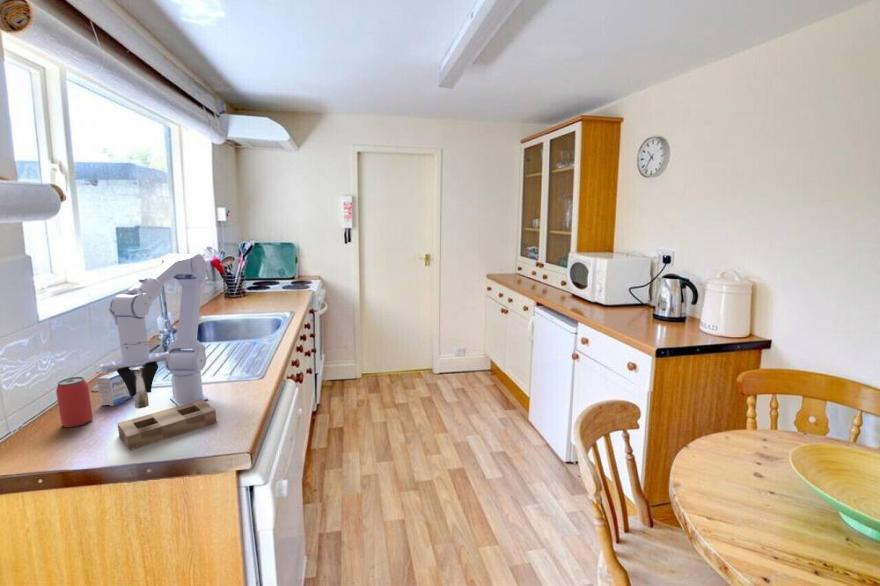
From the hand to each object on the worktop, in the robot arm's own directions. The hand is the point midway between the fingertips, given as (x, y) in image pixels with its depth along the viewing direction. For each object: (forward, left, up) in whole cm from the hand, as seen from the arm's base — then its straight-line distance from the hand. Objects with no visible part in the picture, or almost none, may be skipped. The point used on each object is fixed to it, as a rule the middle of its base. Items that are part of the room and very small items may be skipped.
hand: (140, 393), depth 114 cm
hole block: (+3, +5, -11) cm, 12 cm away
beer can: (-19, -11, -11) cm, 25 cm away
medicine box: (-28, 0, -11) cm, 30 cm away
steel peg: (0, 0, -3) cm, 3 cm away
